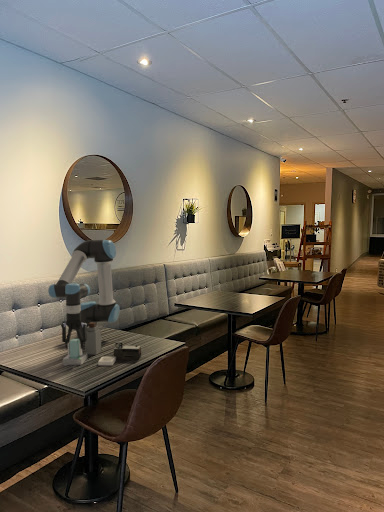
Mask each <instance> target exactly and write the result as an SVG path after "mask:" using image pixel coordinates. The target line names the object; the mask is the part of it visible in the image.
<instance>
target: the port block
mask: <svg viewBox="0 0 384 512" xmlns="http://www.w3.org/2000/svg"><path fill="white" fill-rule="evenodd" d="M87 360H88V354H87V353H85V352H82V355H80V357H79V358H70V355H68V354H67V355H66V356H65V357H63V358H62V366H69V365H70V366H72V365H73V366H74V365H75V366H77V365H78V366H79V365H80V366H81V365H83V364H84V363H85V362H86V361H87Z"/></svg>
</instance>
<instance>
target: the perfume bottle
mask: <svg viewBox="0 0 384 512" xmlns="http://www.w3.org/2000/svg"><path fill="white" fill-rule="evenodd" d="M86 329H87V331H86V332H87V341H86V342H84V353H87V355H98V354H100V353H101V352H102V335H101V333H102V332H101V329H99V325H97V326H96V322H90V323H89V326H88V327H87V328H86Z"/></svg>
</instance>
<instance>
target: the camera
mask: <svg viewBox="0 0 384 512" xmlns="http://www.w3.org/2000/svg"><path fill="white" fill-rule="evenodd" d="M114 344H115V345H114V346H115V347H114V348H113V357H116V360H123V361H125V360H127V361H130V360H131V361H133V360H134V361H139V360H140V359H141V357H142V348H141V345H123V341H115V343H114Z"/></svg>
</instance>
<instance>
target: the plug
mask: <svg viewBox="0 0 384 512" xmlns="http://www.w3.org/2000/svg"><path fill="white" fill-rule="evenodd" d="M69 342H70V358H79V357H80V355H79V343H80V340H79V339H77V338H70V340H69Z"/></svg>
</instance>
